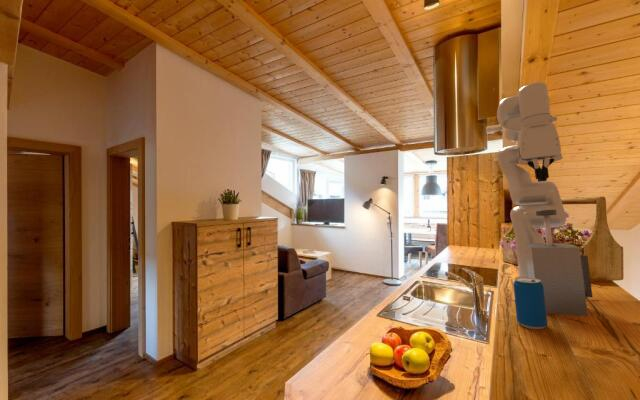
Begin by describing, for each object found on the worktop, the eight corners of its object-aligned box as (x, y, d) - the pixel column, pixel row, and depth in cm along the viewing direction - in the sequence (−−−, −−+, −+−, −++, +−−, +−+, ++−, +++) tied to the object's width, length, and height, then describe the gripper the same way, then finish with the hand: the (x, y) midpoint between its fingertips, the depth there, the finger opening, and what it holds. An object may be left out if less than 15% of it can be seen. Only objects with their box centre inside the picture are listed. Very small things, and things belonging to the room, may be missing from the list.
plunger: (531, 269, 92) (525, 210, 93) (567, 270, 88) (559, 208, 89) (538, 275, 84) (530, 211, 85) (577, 276, 80) (569, 209, 81)
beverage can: (553, 330, 70) (548, 282, 71) (524, 330, 72) (519, 282, 72) (539, 320, 77) (534, 276, 77) (512, 320, 78) (508, 277, 79)
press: (530, 301, 92) (524, 243, 94) (585, 304, 86) (578, 242, 87) (538, 312, 83) (531, 247, 84) (601, 317, 76) (592, 247, 78)
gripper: (562, 121, 88) (569, 179, 87) (506, 131, 95) (511, 184, 94) (570, 114, 82) (578, 177, 81) (509, 125, 89) (515, 182, 87)
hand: (542, 181), depth 87 cm, fingers closed
